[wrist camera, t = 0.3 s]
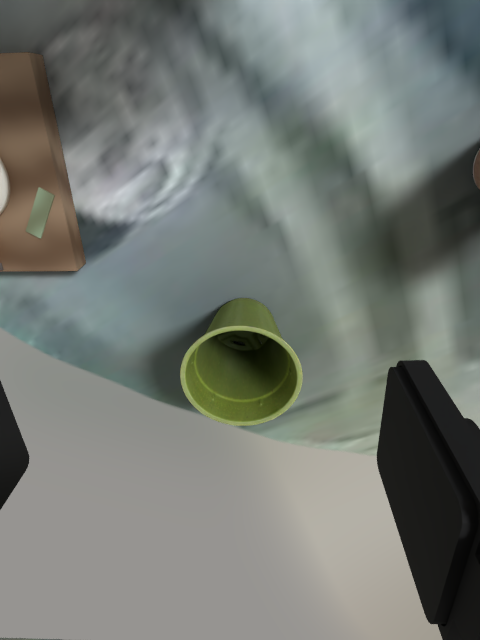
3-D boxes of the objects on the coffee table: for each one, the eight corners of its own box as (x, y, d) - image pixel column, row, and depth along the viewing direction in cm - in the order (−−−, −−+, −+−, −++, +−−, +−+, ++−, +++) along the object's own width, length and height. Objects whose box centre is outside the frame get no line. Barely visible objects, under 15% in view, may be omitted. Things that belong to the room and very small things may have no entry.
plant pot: (211, 372, 53) (199, 434, 43) (184, 290, 48) (163, 339, 38) (302, 356, 51) (311, 417, 41) (284, 269, 46) (290, 315, 36)
